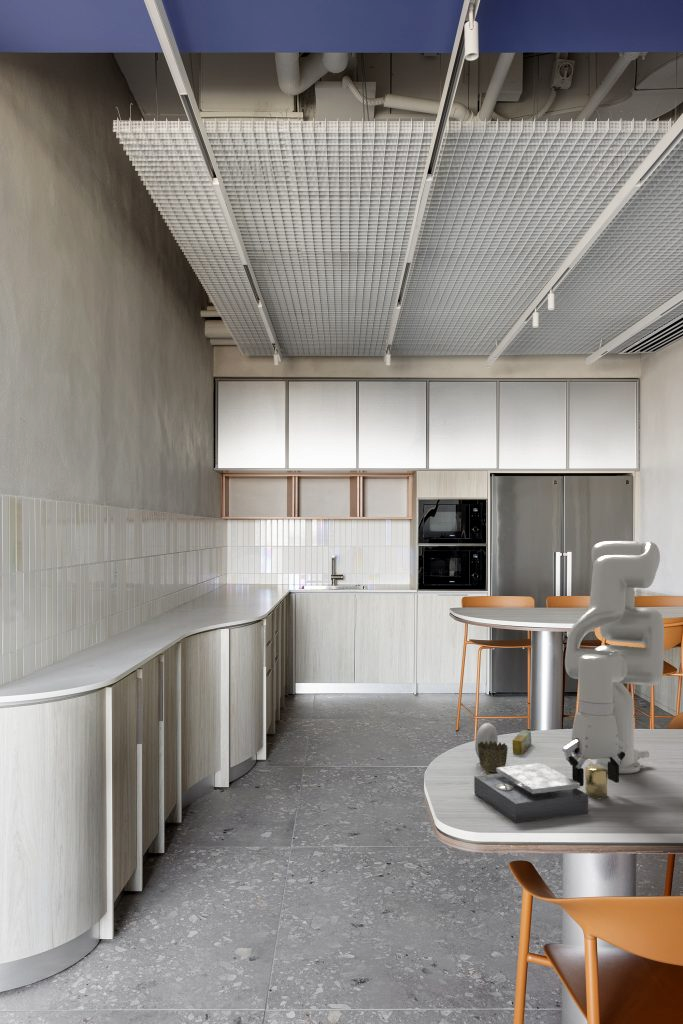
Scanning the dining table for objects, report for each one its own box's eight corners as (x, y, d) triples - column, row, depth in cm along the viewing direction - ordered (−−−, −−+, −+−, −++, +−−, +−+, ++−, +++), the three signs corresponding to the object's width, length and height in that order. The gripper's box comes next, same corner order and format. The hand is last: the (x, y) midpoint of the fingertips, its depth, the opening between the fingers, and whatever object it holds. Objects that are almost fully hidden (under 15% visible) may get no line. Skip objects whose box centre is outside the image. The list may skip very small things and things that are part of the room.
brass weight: (598, 790, 168) (598, 764, 168) (611, 797, 163) (611, 771, 164) (581, 792, 166) (581, 766, 167) (594, 799, 162) (594, 773, 162)
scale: (540, 785, 171) (540, 766, 171) (588, 813, 154) (588, 792, 154) (474, 793, 165) (474, 774, 166) (515, 823, 148) (515, 801, 148)
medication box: (522, 743, 208) (522, 729, 208) (531, 744, 206) (531, 730, 207) (512, 754, 197) (512, 739, 197) (522, 755, 196) (521, 740, 196)
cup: (508, 783, 173) (508, 750, 173) (477, 780, 174) (477, 748, 174) (507, 773, 180) (507, 741, 180) (477, 771, 181) (477, 739, 182)
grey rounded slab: (485, 767, 185) (485, 728, 185) (473, 764, 187) (472, 726, 187) (499, 757, 193) (499, 720, 193) (487, 755, 195) (487, 718, 195)
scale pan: (540, 767, 169) (540, 762, 169) (579, 788, 155) (579, 783, 155) (496, 771, 166) (496, 767, 166) (532, 793, 151) (532, 789, 151)
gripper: (615, 703, 172) (616, 774, 171) (554, 706, 167) (554, 780, 166) (637, 709, 165) (637, 784, 164) (573, 713, 159) (574, 791, 158)
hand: (595, 782), depth 165 cm, fingers open, 9 cm apart
